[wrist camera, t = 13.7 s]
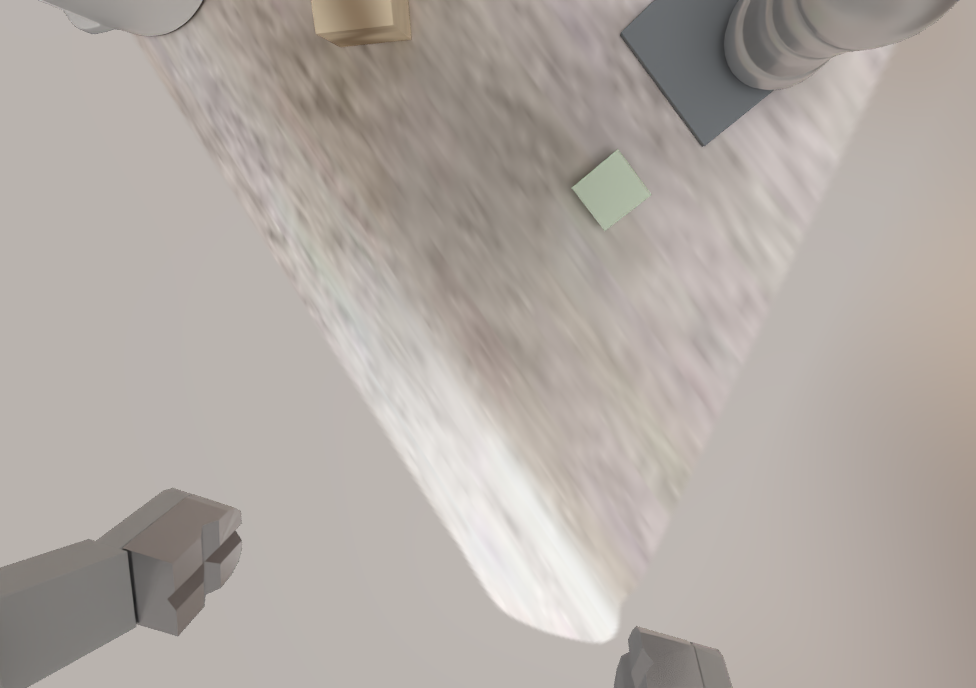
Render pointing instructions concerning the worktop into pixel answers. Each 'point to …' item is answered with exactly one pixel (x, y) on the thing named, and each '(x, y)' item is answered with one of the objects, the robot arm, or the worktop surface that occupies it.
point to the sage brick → (611, 190)
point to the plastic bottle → (815, 34)
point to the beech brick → (361, 21)
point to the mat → (692, 62)
